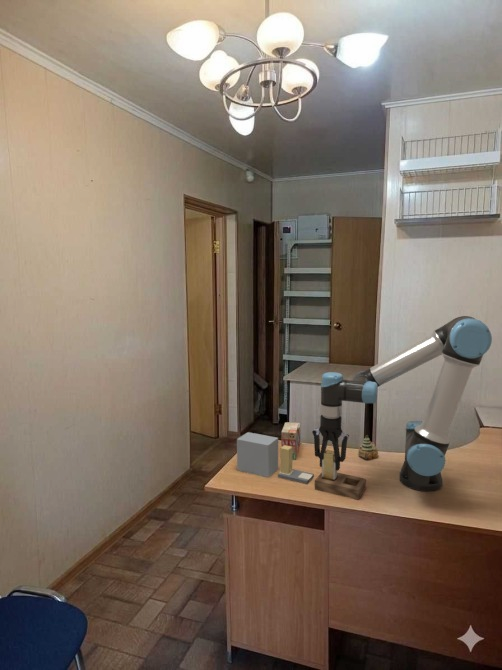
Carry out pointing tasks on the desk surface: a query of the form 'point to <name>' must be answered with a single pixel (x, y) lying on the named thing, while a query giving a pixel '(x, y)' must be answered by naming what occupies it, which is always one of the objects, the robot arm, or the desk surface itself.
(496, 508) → the desk surface
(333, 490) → the socket board
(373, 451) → the ornament
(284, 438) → the stack of blocks
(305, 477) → the board
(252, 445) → the block
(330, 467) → the brass pin
